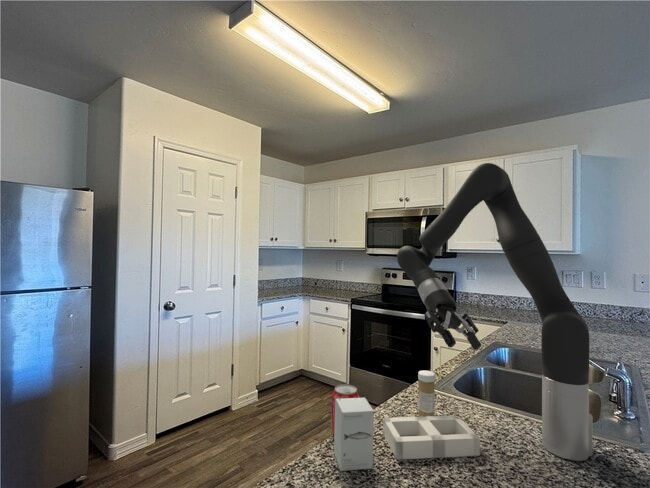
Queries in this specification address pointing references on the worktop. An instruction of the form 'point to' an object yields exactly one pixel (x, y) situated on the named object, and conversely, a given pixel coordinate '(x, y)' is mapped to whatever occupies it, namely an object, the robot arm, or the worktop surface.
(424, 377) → the sprinkles bottle
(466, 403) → the worktop surface
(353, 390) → the soda can
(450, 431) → the divided compartment tray
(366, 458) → the supplement box
